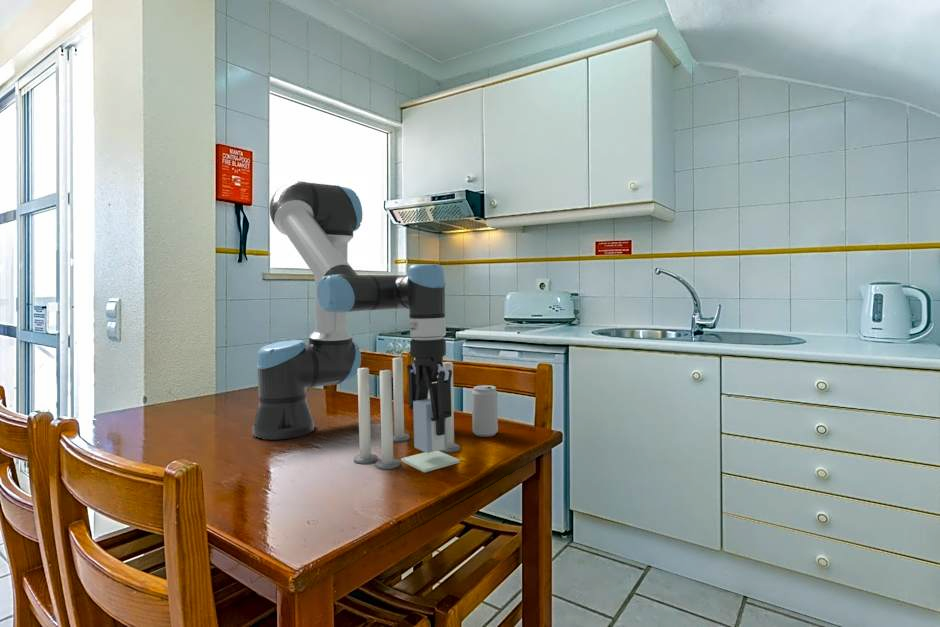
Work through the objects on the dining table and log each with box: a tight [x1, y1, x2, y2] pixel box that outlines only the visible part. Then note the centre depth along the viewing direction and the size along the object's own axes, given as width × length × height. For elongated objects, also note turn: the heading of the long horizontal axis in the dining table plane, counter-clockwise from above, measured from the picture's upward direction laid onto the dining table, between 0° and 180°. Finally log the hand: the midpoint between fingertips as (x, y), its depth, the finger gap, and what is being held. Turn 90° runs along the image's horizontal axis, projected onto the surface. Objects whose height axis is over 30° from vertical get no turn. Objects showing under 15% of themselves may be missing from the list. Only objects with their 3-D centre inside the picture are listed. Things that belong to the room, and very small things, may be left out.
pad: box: [400, 451, 461, 473], centre depth 111 cm, size 9×9×1 cm
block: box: [412, 398, 447, 453], centre depth 111 cm, size 5×5×10 cm
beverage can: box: [471, 384, 499, 438], centre depth 131 cm, size 6×6×12 cm
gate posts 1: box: [353, 357, 411, 465], centre depth 120 cm, size 5×21×20 cm, turn 161°
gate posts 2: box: [375, 361, 461, 471], centre depth 114 cm, size 5×21×20 cm, turn 129°
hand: (430, 446), depth 111 cm, fingers closed on block, 5 cm apart
